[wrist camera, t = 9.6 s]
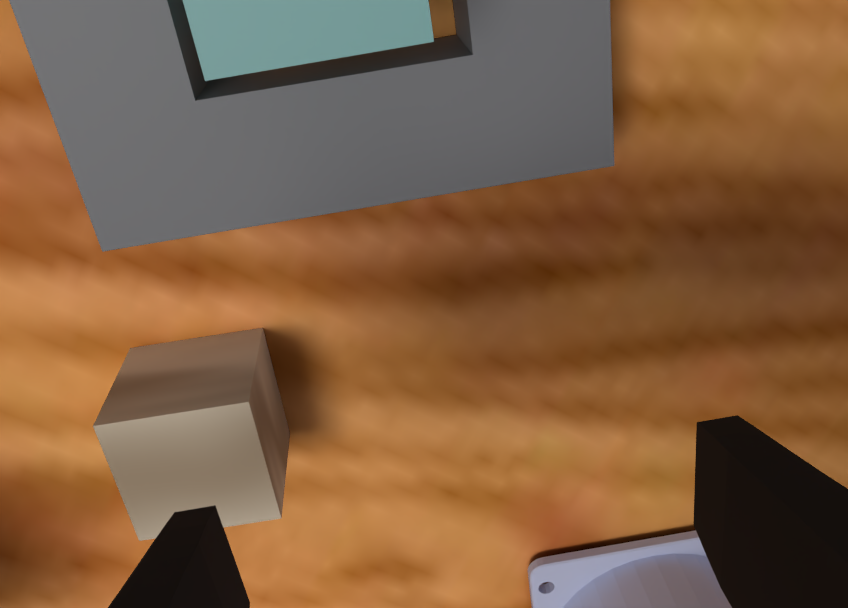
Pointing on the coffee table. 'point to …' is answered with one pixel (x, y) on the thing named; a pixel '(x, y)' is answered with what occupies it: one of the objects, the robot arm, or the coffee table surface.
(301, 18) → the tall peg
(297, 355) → the coffee table surface
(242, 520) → the beige cube
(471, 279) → the coffee table surface
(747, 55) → the coffee table surface
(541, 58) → the hole board
